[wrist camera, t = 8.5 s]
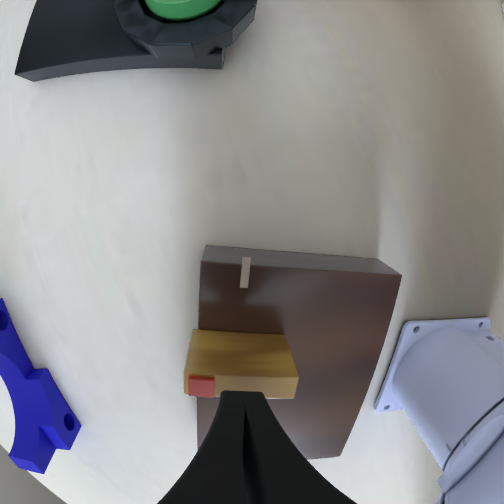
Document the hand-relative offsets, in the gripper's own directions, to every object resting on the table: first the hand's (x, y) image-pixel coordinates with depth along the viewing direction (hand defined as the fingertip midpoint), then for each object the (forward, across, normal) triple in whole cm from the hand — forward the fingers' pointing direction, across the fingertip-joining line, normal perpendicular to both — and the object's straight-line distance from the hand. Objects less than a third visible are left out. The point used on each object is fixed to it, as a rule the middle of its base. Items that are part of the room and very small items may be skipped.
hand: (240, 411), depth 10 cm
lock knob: (+5, 0, 0) cm, 5 cm away
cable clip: (+9, +16, +7) cm, 19 cm away
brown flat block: (+8, -3, +3) cm, 10 cm away
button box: (+8, +8, -18) cm, 21 cm away
